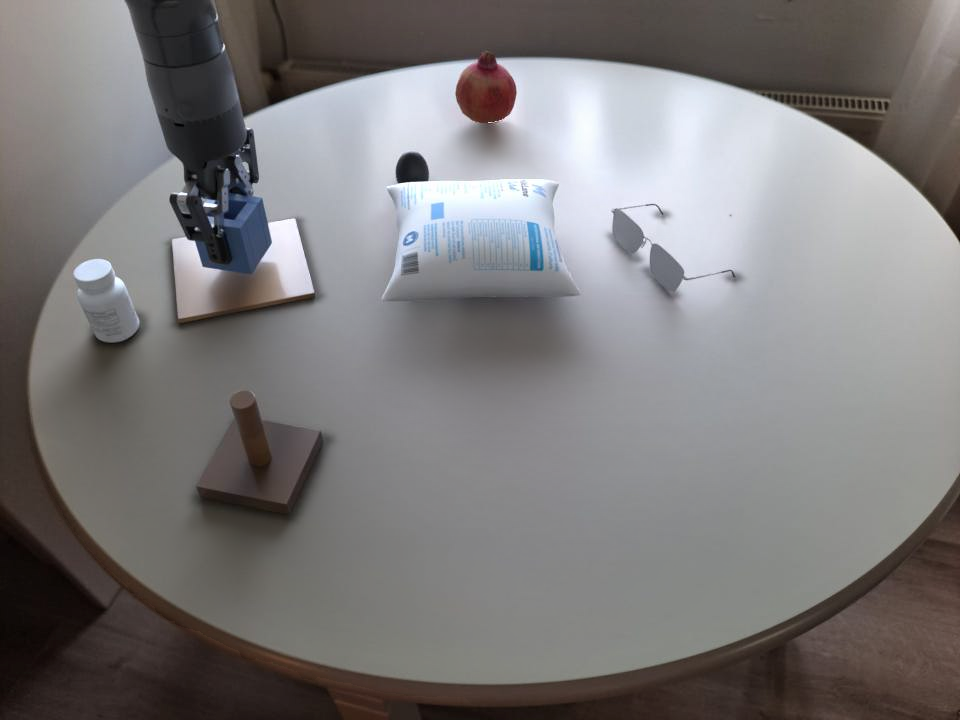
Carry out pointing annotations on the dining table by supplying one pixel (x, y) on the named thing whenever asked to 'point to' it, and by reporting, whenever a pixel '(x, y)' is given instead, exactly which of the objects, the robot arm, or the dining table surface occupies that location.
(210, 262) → the blue pencil cup
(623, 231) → the eyeglasses
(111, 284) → the pill bottle
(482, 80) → the fruit
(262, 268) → the wooden board
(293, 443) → the dowel stand
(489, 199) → the pouch
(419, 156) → the black rounded dome
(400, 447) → the dining table surface
